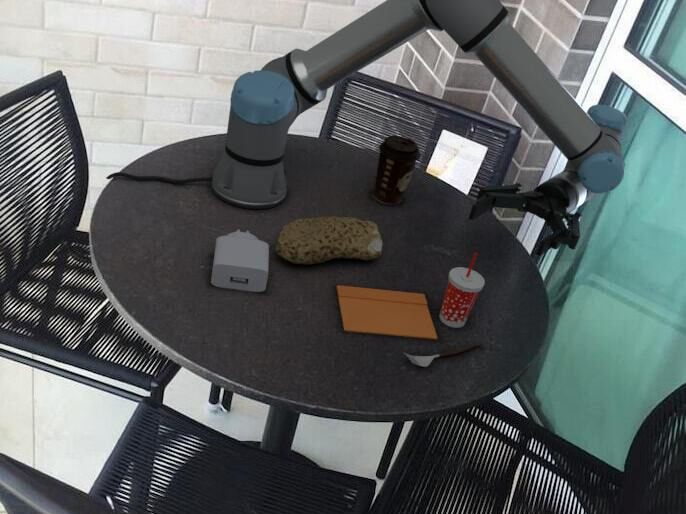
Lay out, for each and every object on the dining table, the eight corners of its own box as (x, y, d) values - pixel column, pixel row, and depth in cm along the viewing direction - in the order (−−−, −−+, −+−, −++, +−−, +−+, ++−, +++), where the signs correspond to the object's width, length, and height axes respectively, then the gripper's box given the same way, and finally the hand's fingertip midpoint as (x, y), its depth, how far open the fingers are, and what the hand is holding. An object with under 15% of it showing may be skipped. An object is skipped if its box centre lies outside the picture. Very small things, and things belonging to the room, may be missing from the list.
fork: (485, 351, 135) (488, 342, 134) (408, 371, 128) (412, 362, 126) (475, 341, 137) (478, 332, 136) (399, 361, 129) (402, 351, 128)
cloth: (344, 331, 133) (344, 328, 133) (336, 287, 143) (336, 285, 142) (437, 339, 136) (438, 336, 135) (423, 296, 145) (424, 293, 145)
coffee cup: (407, 193, 177) (422, 139, 170) (407, 211, 170) (423, 156, 163) (368, 184, 177) (382, 130, 170) (366, 202, 170) (380, 147, 163)
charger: (266, 245, 150) (264, 293, 138) (216, 238, 149) (210, 286, 136) (270, 223, 147) (269, 270, 135) (219, 216, 146) (213, 263, 134)
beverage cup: (455, 306, 145) (478, 240, 137) (476, 327, 141) (501, 260, 133) (428, 311, 142) (450, 245, 134) (448, 333, 138) (473, 266, 130)
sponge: (363, 242, 159) (268, 217, 152) (381, 214, 154) (284, 187, 147) (372, 292, 150) (271, 267, 143) (391, 263, 145) (288, 236, 138)
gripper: (611, 243, 151) (562, 282, 136) (496, 186, 162) (440, 216, 147) (627, 208, 146) (579, 245, 132) (507, 152, 158) (451, 180, 143)
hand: (505, 230), depth 140 cm, fingers open, 13 cm apart
